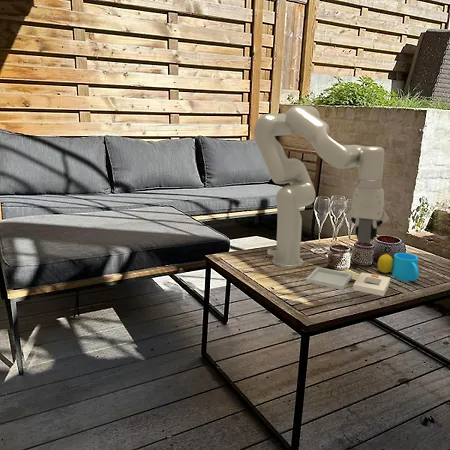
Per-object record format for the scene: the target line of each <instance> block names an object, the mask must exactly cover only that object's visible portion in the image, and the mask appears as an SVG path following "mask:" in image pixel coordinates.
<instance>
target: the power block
mask: <svg viewBox="0 0 450 450" xmlns="http://www.w3.org/2000/svg"><path fill="white" fill-rule="evenodd" d="M391 280H392V279H391V277H387V276H383V275H380V274H375V273H368V272H361V273H360V274H359V276H358V277H357V279H356V280H355V281H354V283H353V286H352V290H353V291H356V292H357V291H358V292H362V293H365V294H370V295H376V296H381V297H384V296H385V294H386V293H387V290H388V288H389V286H390V283H391Z"/></svg>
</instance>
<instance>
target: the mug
mask: <svg viewBox="0 0 450 450" xmlns="http://www.w3.org/2000/svg"><path fill="white" fill-rule="evenodd" d="M418 263H419V256H417V255H415V254H412V253H409V252H408V253H406V252H396V253H395V254H394V255H393V268H392V270H391V271H392V272H391V275H392V276H393V277H394V279H395V280H397V281H398V280H399V281H402V282H414V281H416V280H417V279H418V278H419V276H420V272H419V271H420V270H419V267H418Z"/></svg>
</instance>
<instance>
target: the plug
mask: <svg viewBox="0 0 450 450" xmlns="http://www.w3.org/2000/svg"><path fill="white" fill-rule="evenodd" d="M372 227H373V221H372V220H369V219H359V228H358V238H357V243H362V244H371V243H372V242H373V240H371V229H372Z"/></svg>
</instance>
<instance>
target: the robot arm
mask: <svg viewBox="0 0 450 450" xmlns="http://www.w3.org/2000/svg"><path fill="white" fill-rule="evenodd" d="M329 131H330V126H329V124H328V123H327V122H326V121H324V120H323V119H322V118H321V115H320V112H319V110H318V109H317V108H316V107H314V106H311V105H293V106H291V107H290V108H288V109H287V110H286V112H285V113H277V112H276V113H266V114H263V115H261V116H259V117H258V119H257V120H256V122H255V124H254V128H253V137H254V140H255V143H256V146H257V147H258V149H259V151H260V153H261V155H262V158H263V162H264V163H265V166H266V169H267V171H268V173H269V176H270V178H271V180H272V182H273V183H274V184H276V185H277V184H278V185H284V184H289V185H285V186H283V187H281V188H280V189H279V190H278V191H277V192H276V195H275V203H276V210H277V211H276V212H277V218H276V219H277V220H276V221H277V222H276V223H277V224H276V225H277V227H276V246H275V249H272V248H271V249H270V248H268V249H267V252H266V253H267V256H272V258H271V263H272V264H273V265H275V266H277V267H280V268H281V267H285V268H296V267H300V266H302V265H304V260H303V258H301V257H300V256H301V245H302V244H301V243H302V242H301V241H302V227H303V226H302V225H303V224H302V223H303V217H302V214H301V212H300V209H301V208H304V207H308V206H310V205H312V204H313V203H314V202H315V200H316V190H315V187H314V184H313V182H312V179H311V177H310V174H309V172H308V170H307V167H306V165H305V164H304V162H303V161H301V160H300V159H298V158H294V157H292V158H288V156H287V154H286V153H285V150H284V148H283V145H282V144H281V143H280V141H278V140H277V138H276V137H277V136H290V135H294V134H299V135H300V136H301V137H303V138H304V139H305V140H306V141H308V142H309V143H310V144H311V145H312V147H313V149H314V151H315V153H316V154H317V155H318V157H320V158H321V159H322V160H323V161H324V162H326V163H327V164H328V165H330V166H331V167H333V168H335V169H339V170H343V169H344V170H345V169H349V168H356V167H357V168H358V177H357V179H353V185H356V187H355V188H354V190H353V193H352V201H351V207H350V210H348V212H347V213H346V215H345V216H346V217H347V218H348V219H349V220H350V221H351V222H352V223H353V225H354V226H355V232H354V233H355V235H356V238H357V239H358V228H359V219H369V220H372V221H373V227H372V229H371V240H372V241H374V239H375V238H377V234H378V233H377V232H378V227H380V226H381V225H382V224H384V223H387V222H388V221H389V220H390V218H389V216H388V214H387V212H386V211H385V191H384V189H383V187H382V185H383V174H384V163H385V162H384V160H385V149H384V147H382V146H376V145H375V146H374V145H373V146H372V145H371V146H369V145H368V146H364V145H360V144H347V145H341V144H340V143H339V142H337V141H336V140H334V139H333V138H331V136H330V135H329V133H330V132H329Z"/></svg>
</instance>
